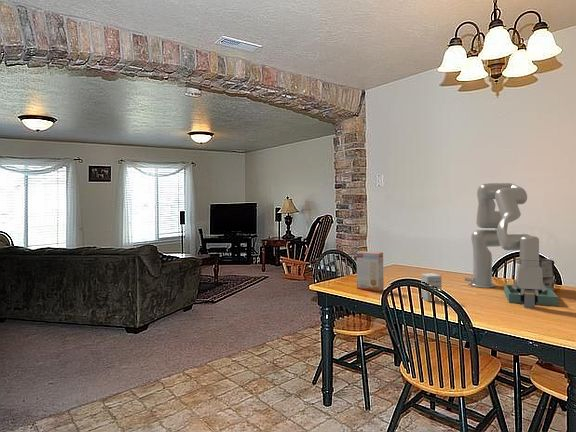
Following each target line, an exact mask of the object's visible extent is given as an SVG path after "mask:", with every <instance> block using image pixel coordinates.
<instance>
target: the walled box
mask: <svg viewBox="0 0 576 432" xmlns="http://www.w3.org/2000/svg"><path fill="white" fill-rule="evenodd" d="M512 285H513V284H503V293H504V295H505V297H506V299H507V302H508V303H512V304H513V303H514V304H523V303H522V301H520V293H519V292H518V291H517V290H515V289H513V288H512ZM516 287H517V286H516ZM517 288H518V287H517ZM546 288H547V290H545V291H543V292H542V293H540V294H539V295H538V302H536V305H540V306H554V307H558V306H559V296H558V295H557V294H556V293H555V292H554V291H552V290H551V289H550V288H549V287H546ZM519 289H520V288H519Z"/></svg>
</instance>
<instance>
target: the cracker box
mask: <svg viewBox="0 0 576 432" xmlns="http://www.w3.org/2000/svg"><path fill="white" fill-rule="evenodd" d="M384 286H385V284H384V252H381V251H380V252H379V251H369V250H364V251H363V250H360V251H356V289H359V290H365V291H372V292H381V291H384V289H385V287H384Z"/></svg>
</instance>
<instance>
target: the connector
mask: <svg viewBox="0 0 576 432" xmlns="http://www.w3.org/2000/svg"><path fill="white" fill-rule="evenodd" d="M522 307H524V309H535V290H534V289H524V304H523V303H522Z"/></svg>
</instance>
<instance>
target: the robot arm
mask: <svg viewBox="0 0 576 432" xmlns="http://www.w3.org/2000/svg"><path fill="white" fill-rule="evenodd" d="M476 191H477V192H476V195H477V200H478V201H477V203H478V206H477V212H476V213H477V214H476V226H477V227H478V228H481V229H478V230H475V231H473V232H472V233H471V236H470V237H471V238H470V239H471V244H472V253H473V255H472V257H473V259H472V262H473V263H472V265H473V266H472V268H473V269H472V273H473V274H472V277H464V281H465V282H470V286H472V287H475V288H483V289H484V288H487V289H490V288H495V286H496V285H495V283H494V282H493V254H492V252H491V250H489V248H490V247H491V248H492V247H495V248H496V247H501V249H503V250H504V251H519V259H518V260H516V261H515V263H516V264H518V266H517V269H516V278H515V281H514V282H513V284H511V285H512V288H513V289H515V290H517V291H518V292H519V293H520V301H522V303H521V304H522V305H523V304H524V289H534V290H535V305H537V304H536V302H538V295H539V294H540V293H542V292H543V291H545V290H547V288H546V287H545V285H544V284H543V277H542V269H541V267H539V259H540V239H539V237H538V236H536V235H535V236H534V235H533V236H532V235H530V234H526V233H523V234H521V233H519V234H518V233H517V234H516V233H514V234H513V233H512V234H511V233H510V234H509V233H508V225H509V224H510V223H513V222H515V221H516V220H518V219H519V218H520V217H521V214H522V213H521V210H520V207H519V205H524V204H525V203H526V202H527V200H528V193H527V190H525V189H524V188H523V187H522V186H519V185H517V184H515V183H511V182H498V183H497V182H491V183H483V184H480V185H479V186H478V188H477V190H476ZM496 204H497V208H498V210H496ZM488 247H489V248H488ZM516 286H517V287H518V288H517V287H516ZM519 288H520V289H519Z"/></svg>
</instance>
